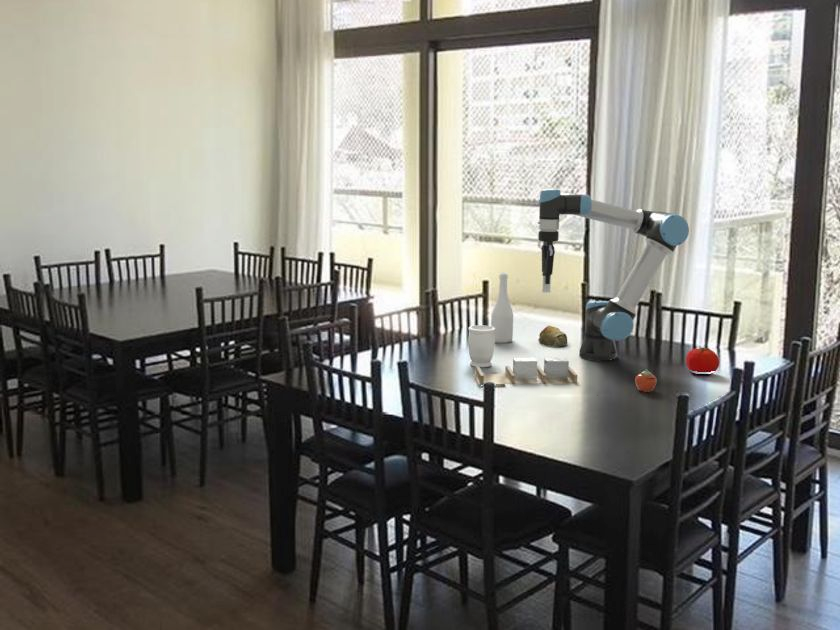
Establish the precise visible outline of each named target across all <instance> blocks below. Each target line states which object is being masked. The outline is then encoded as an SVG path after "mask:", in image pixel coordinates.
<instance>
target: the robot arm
mask: <svg viewBox="0 0 840 630" xmlns="http://www.w3.org/2000/svg"><path fill="white" fill-rule="evenodd" d="M560 215H561V216H562V215H568V216H569V215H570V216H571V215H573V216H577V217H581V218H585V219H589V220H593V221H597V222H600V223H605V224H608V225H613V226H617V227H621V228H625V229H628V230H631V232H632V233H633V234H638V235H640V236H643V237H645V242H646V245H645V246H644V248H643V250H642V252H641V253H640V256H639V257H638V259H637V261H636V262H635V264H634V265H633V267H632V269H631V270H630V273H629V274H628V276H627V278H626V279H625V280H624V282H623V284H622V286H621V288H620V290H619V292H617V294H616V296H615V297H614V298H612V299H609V300H608V301H607V300H594V301H592V300H591V301H587V303H586V305H585V318H584V319H585V320H584V321H585V322H584V339H583V341H582V343H581V346H580V348H579V353H578V354H579V357H580V358H581V359H584V358H585V360H589V359H591V360H590V361H596V360H609V361H611V360H610V359H614V358H616V357H617V358H618V351H617V346H616V343H615V342H617V341H618V342H619V341H620V342H621V341H623V340H625V339H627V338H629V336H630V335H632V334H631V333H632V332H633V329H634V319H635V317H636V316H637V312H636V307H637V306H638V304H639V303H640V301H641V300H642V298H643V296H644V294H645V293H646V290H648V287H649V286H650V284H651V283H652V281H653V279H654V277H655V276H656V274H657V272H658V270H659V269H660V267H661V265H662V264H663V262H664V261H665V259H666V257H667V256H668V255H671V254H673V253H674V251H676V250H675V249H676V248H677V247H678V246H680V245H682V244H683V243H685V242H686V240H687V239H688V236H689V232H690V227H689V223H688V222H687V220H686V219H685V217H683V216H682V215H678V214H677V213H673V212H672V213H671V212H665V211H654V210H653V211H651V210H647V209H646V210H645V209H641V208H639V209H637V210H635V209H630V208H627V207H623V206H619V205H614V204H610V203H607V202H603V201H600V200H596V199H592V198H591V196H590V195H589V194H582V193H581V194H574V193H569V192H566V191H565V192H564V191H562V192H561V190H560V189H558V188H544V189H541V190H540V193H539V217H538V218H539V219H538V221H537V224H538V230H539V231H538V235H537V236H538V239H537V240H538V241H540V242H543V244H542V245H541V248H540V251H541V275H542V293H551V283H552V281H551V280H552V275H553V271H554V270H553V269H554V260H555V253H556V251H555V246H554V243H553V242H558V241H559V237H560V236H559V234H560V233H559V229H560ZM617 358H616V359H617ZM614 360H615V359H614Z"/></svg>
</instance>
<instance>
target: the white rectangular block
mask: <svg viewBox="0 0 840 630" xmlns="http://www.w3.org/2000/svg"><path fill="white" fill-rule="evenodd" d="M537 366H538V360H537V358H536V357H518V358H517V357H513V358H512V371H513V373H514V374H515V380H537Z"/></svg>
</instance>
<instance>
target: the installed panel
mask: <svg viewBox="0 0 840 630" xmlns="http://www.w3.org/2000/svg"><path fill="white" fill-rule="evenodd" d="M543 360H544V361H543V362H544V363H543V372H544V373H545V374H546V380H568V368H569V367H570V366H569V365H570V364H569V362H570V361H569V360H568V359H567V357H560V358H559V357H557V358H556V357H553V358H552V357H550V358H549V357H548V358H544V359H543Z"/></svg>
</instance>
